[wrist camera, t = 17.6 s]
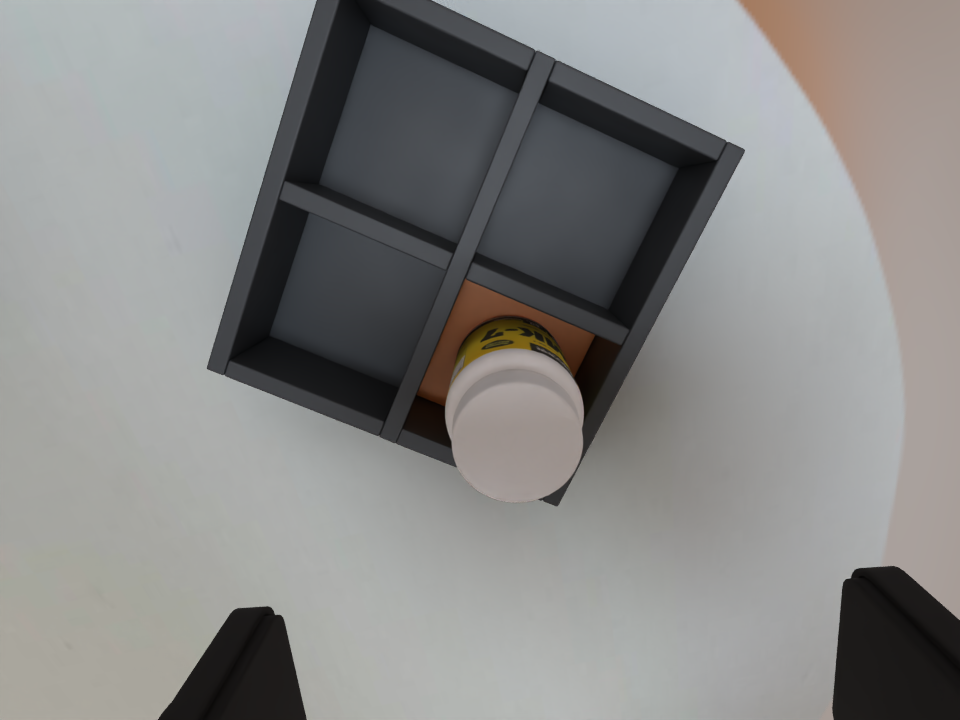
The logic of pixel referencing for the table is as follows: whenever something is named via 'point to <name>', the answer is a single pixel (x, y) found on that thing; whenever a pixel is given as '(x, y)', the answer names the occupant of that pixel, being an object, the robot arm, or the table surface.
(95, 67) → the table surface
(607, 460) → the table surface
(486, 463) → the supplement bottle
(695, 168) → the box
